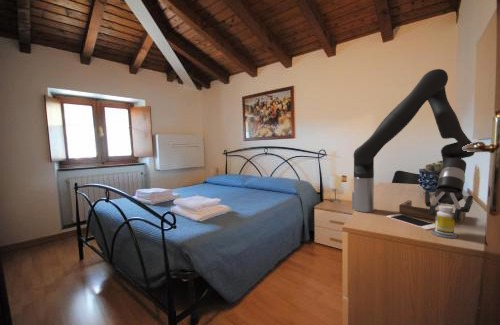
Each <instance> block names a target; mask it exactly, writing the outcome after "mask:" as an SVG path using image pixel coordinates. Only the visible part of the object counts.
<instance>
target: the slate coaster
mask: <svg viewBox="0 0 500 325" xmlns="http://www.w3.org/2000/svg"><path fill="white" fill-rule="evenodd" d="M431 234H432V235H434V236H436V237H439V238H444V239H451V240H452V239H456V238H458V235H457V234H456V233H455V232H454V234H453V235H445V234H441V233H438V232H436V231H435V229H431Z"/></svg>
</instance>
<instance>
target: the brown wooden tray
mask: <svg viewBox="0 0 500 325" xmlns="http://www.w3.org/2000/svg"><path fill="white" fill-rule="evenodd" d="M412 202H413V201H412V200H411V199H407V200H406V201H404V202H402V203H401V204H399V205H398V207H399V208H398V211H399V212H398V214H402V215H406V216H414V217H419V218H425V219H430V220H435V219H436V212H437V211H439V209H436V210H435V214H434V217H431V215H430V214H429V209H430V208H427V207H426V208H425V207H419V206H413V203H412ZM452 213H453V214H455V212H452ZM466 217H467V215H466V212H462V213H461V217H460V220H457V221H455V224H458V225H461V224H462V223H463V221H464V220H465V219H466Z"/></svg>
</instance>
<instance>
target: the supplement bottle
mask: <svg viewBox="0 0 500 325" xmlns="http://www.w3.org/2000/svg"><path fill="white" fill-rule="evenodd" d="M438 210H439V211H437V212H436V219H434V220H435V222H434V224H435V229H434V230H435V231H436V232H438V233H441V234H445V235H453V234H454V233H455V227H456V226H455V224H456V223H455V221H454V214H453V213H454V212H453V211H454V206H453V207H452V206H451V205H450V206H449V205H442V204H440V205H439V206H438Z"/></svg>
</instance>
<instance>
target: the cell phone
mask: <svg viewBox="0 0 500 325" xmlns="http://www.w3.org/2000/svg"><path fill="white" fill-rule="evenodd" d="M385 218H387V219H390V220H393V221H395V222H399V223H402V224H405V225H408V226H412V227H415V228H418V229H421V230H424V231H430V230H431V231H432V230H435V222H434V223H433V222H429V221H427V220H422V219H419V218H417V217H416V218H415V217H412V216H410V215H407V214H402V213H396V214H389V215H385Z"/></svg>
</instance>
